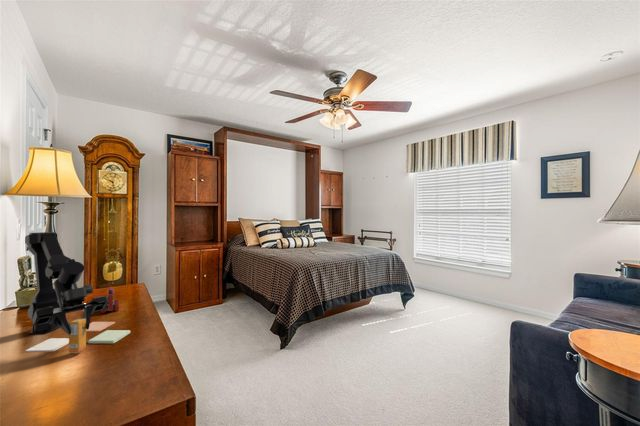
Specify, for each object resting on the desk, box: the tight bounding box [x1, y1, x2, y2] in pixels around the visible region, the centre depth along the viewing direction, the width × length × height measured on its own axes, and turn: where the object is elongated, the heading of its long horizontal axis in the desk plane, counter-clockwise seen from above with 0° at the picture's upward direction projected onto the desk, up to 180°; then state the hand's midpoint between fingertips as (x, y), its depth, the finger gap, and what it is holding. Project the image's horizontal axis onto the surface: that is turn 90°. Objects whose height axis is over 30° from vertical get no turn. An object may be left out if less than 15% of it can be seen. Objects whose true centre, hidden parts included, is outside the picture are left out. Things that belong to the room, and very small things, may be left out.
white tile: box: [25, 337, 69, 353], centre depth 99 cm, size 9×9×1 cm
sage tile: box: [87, 329, 131, 344], centre depth 105 cm, size 9×9×1 cm
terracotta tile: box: [86, 321, 116, 333], centre depth 115 cm, size 9×9×1 cm
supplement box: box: [68, 318, 87, 354], centre depth 93 cm, size 3×3×10 cm
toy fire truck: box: [100, 286, 120, 314], centre depth 135 cm, size 7×12×10 cm, turn 38°
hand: (79, 331), depth 93 cm, fingers closed on supplement box, 4 cm apart
